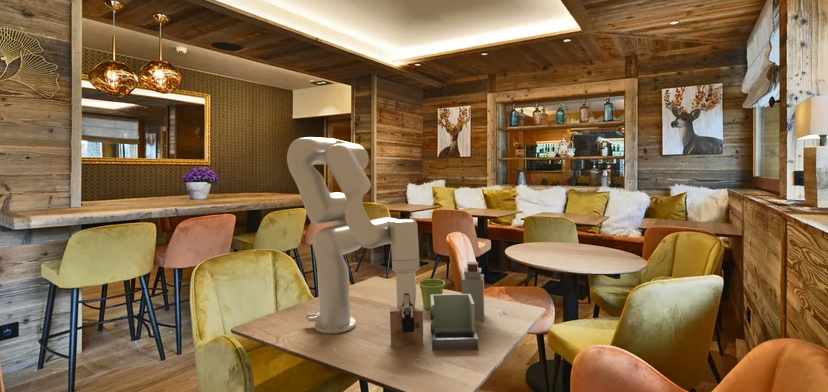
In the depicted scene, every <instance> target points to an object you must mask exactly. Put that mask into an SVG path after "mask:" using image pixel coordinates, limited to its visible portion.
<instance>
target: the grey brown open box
mask: <svg viewBox="0 0 828 392" xmlns="http://www.w3.org/2000/svg"><path fill="white" fill-rule="evenodd" d="M429 311H430V312H429V314H430V315H429V316H430V317H429V318H430V319H429V320H430V338H431V339H430V341H431V344H430V345H431V351H435V352H436V351H469V350H470V351H476V350H477V351H478V350H479V337H478V334H477V331H476V330H475V332H472V331H435V333H434V324H433V319H434V310H433V306H431V309H429Z"/></svg>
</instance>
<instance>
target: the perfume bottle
mask: <svg viewBox="0 0 828 392" xmlns="http://www.w3.org/2000/svg"><path fill="white" fill-rule="evenodd" d="M466 266H467V267H464V269H463V273H462V277H461V294H471V296H472V299H473V301H474V306H475V323H476V322H477V323H484V322H485V321H484V320H485V275H484V273H483V274H482V267H479V262H478V261H468V262H467V264H466Z"/></svg>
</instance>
